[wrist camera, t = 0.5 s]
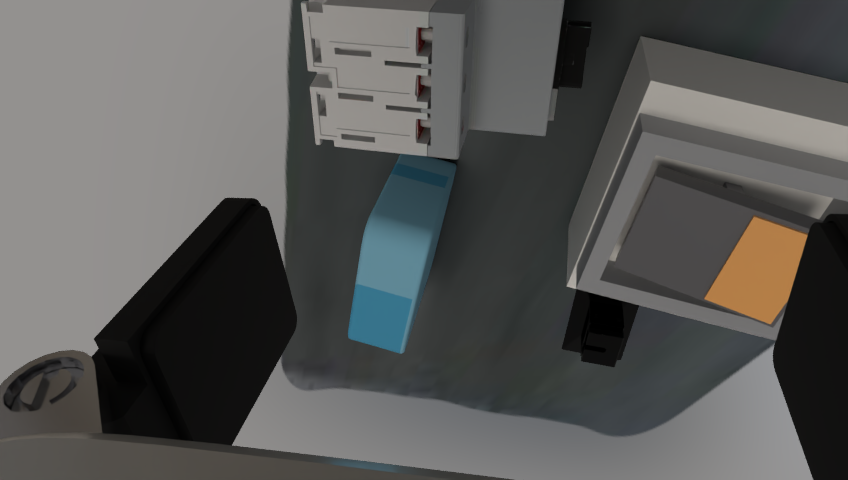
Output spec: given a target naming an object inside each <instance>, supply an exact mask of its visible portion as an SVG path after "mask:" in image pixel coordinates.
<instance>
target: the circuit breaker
mask: <svg viewBox="0 0 848 480" xmlns="http://www.w3.org/2000/svg"><path fill="white" fill-rule="evenodd" d="M563 7H564V0H309V3H308V1H302V3H301V8H302V18H303V27H304V37H305V46H306V55H307V65H308V71H315V72H317V75H316V77H315V78H314V80H313V82H312V84H311V85H310V93H311V103H312V112H313V121H314V131H315V140H316V144H317V145H321V143H322V139H328V140H334V146H335V147H345V148H354V149H363V150H372V151H382V152H391V153H400V154H410V155H419V156H428V157H438V158H447V159H458V158H459V155H460V152H461V149H462V146H463V144H464V141H465V138H466V135H467V132H468V130H469V129H475V130H485V131H496V132H506V133H517V134H527V135H538V136H545V135H546V130H547V123H548V120H552V121H553V119H554V112H555V106H556V99H557V92H558V88H559V86H560V87H572V88H581V87H582V81H583V71H584V64H585V57H586V49H587V47H588V46H589V40H590V34H591V28H592V27H591V22H583V21H568V20H567V19H562V15H563ZM314 38H315V44H316V48H315V49H314ZM319 94H320V96H321V100H319Z"/></svg>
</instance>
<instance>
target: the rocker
mask: <svg viewBox="0 0 848 480" xmlns="http://www.w3.org/2000/svg"><path fill="white" fill-rule="evenodd" d="M815 222H823V221H822V220H819V219H816V218H813V217H810V216H807V215H804V214H801V213H798V212H795V211H792V210H789V209H786V208H784V207H781V206H778V205H775V204H772V203H769V202H766V201H763V200H760V199H757V198H754V197H751V196H748V195H745V194H742V193H739V192H736V191H733V190H730V189H728V188H725V187H722V186H719V185H716V184H713V183H710V182H707V181H704V180H701V179H698V178H695V177H692V176H689V175H686V174H683V173H680V172H677V171H674V170H672V169H669V168H666V167H663V166H660V165H658V167H657V169H656V171H655V174H654V176H653V178H652V180H651V182H650V185H649V187H648V189H647V191H646V193H645V195H644V198H643V200H642V202H641V204H640V206H639V209H638V211H637V213H636V215H635V217H634V220H633V222H632V224H631V226H630V228H629V230H628V233H627V235H626V237H625V239H624V241H623V244H622V246H621V248H620V250H619V252H618V255H617V258H616V261H615V264H614V267H616V268H619V269H621V270H624V271H627V272H629V273H632V274H634V275H637V276H640V277H642V278H645V279H647V280H650V281H653V282H655V283H658V284H660V285H663V286H666V287H668V288H671V289H673V290H676V291H679V292H681V293H684V294H686V295H689V296H692V297H694V298H697V299H699V300H702V301H705V302H707V303H710V304H712V305H715V306H718V307H720V308H723V309H725V310H728V311H731V312H733V313H736V314H738V315H741V316H744V317H746V318H749V319H751V320H754V321H757V322H759V323H762V324H764V325H767V326H770V327H772V328H773V327H774V326H775V324H776V323H777V322H778V320H779V319H780V318H781V316H782V315H783V313H784V312H785V309H786V306H787V302H788V299H789V296H790V292H791V289H792V286H793V282H794V279H795V276H796V272H797V269H798V266H799V262H800V259H801V256H802V252H803V249H804V246H805V242H806V239H807V236H808V232H809V230H810V227H811V226H812V224H813V223H815Z"/></svg>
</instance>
